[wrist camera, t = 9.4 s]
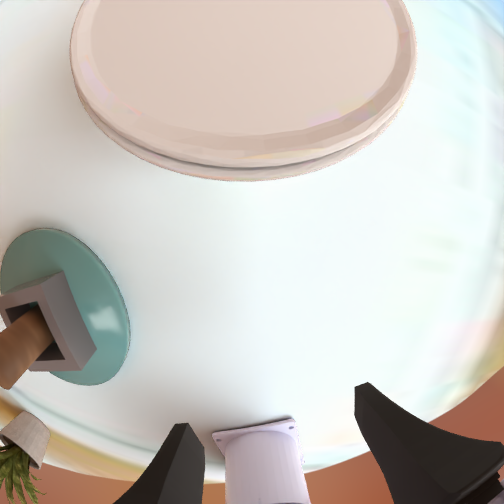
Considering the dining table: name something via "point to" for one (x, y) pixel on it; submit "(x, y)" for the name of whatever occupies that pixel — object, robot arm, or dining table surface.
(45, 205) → the dining table surface
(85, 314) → the candle dish
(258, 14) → the coffee cup
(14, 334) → the walnut peg
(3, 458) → the house plant
